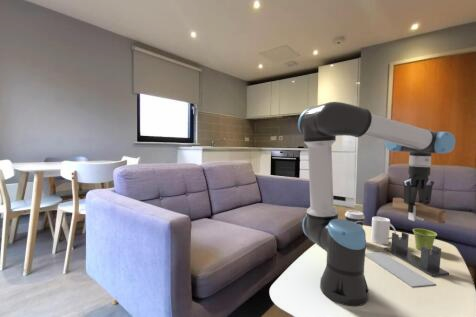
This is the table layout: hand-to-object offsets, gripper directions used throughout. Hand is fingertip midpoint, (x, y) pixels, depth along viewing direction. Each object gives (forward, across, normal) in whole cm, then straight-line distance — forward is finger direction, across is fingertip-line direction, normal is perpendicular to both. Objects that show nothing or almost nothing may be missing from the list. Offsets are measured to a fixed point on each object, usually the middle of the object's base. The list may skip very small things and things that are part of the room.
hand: (415, 219), depth 104 cm
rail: (-2, 0, 0) cm, 2 cm away
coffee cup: (+19, -12, +24) cm, 33 cm away
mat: (+18, -13, -4) cm, 23 cm away
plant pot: (+19, +16, +10) cm, 27 cm away
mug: (+19, +2, +20) cm, 27 cm away
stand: (+18, 0, 0) cm, 18 cm away
